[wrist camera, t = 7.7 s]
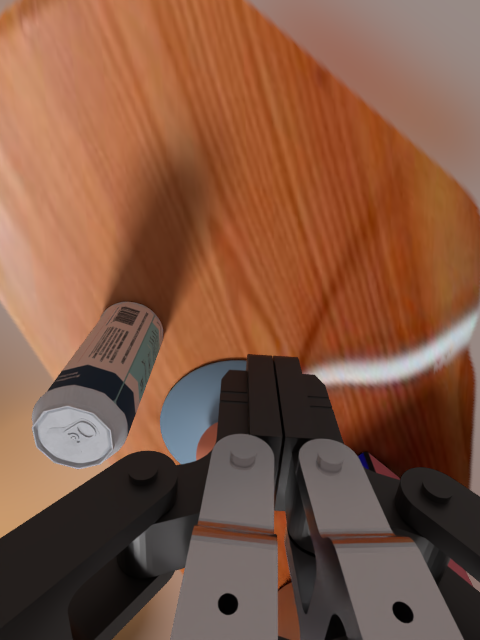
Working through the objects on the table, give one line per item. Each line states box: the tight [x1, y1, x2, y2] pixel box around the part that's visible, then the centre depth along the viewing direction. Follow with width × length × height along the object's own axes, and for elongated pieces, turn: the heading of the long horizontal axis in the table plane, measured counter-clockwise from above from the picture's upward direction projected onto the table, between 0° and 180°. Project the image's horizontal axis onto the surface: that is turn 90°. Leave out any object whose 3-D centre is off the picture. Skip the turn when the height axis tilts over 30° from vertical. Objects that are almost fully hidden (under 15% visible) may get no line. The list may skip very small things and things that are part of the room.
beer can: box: [32, 302, 163, 469], centre depth 25 cm, size 5×5×12 cm
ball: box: [196, 422, 218, 460], centre depth 32 cm, size 6×6×6 cm
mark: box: [160, 360, 247, 464], centre depth 34 cm, size 13×13×1 cm
